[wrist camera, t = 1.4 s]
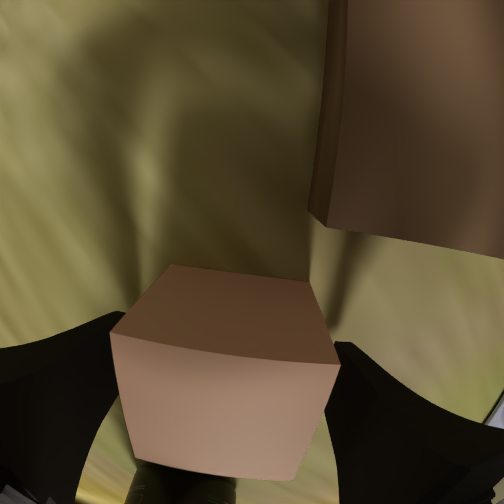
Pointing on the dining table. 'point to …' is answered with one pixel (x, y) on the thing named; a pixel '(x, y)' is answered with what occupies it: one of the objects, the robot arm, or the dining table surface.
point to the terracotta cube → (224, 372)
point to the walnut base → (413, 123)
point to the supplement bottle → (178, 487)
